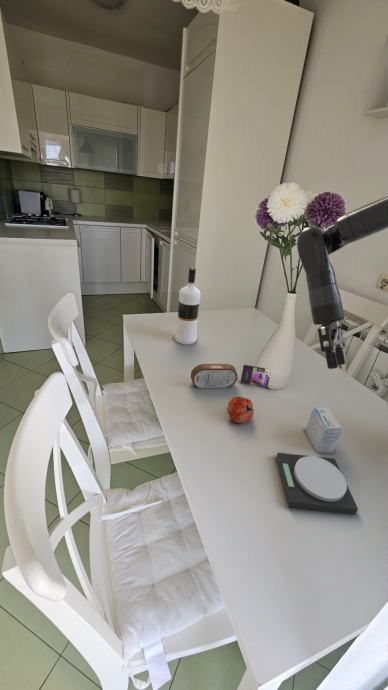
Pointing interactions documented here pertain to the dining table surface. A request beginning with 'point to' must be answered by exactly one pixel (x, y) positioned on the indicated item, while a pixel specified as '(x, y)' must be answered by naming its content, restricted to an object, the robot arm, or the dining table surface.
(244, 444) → the dining table surface
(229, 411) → the pomegranate
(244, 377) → the purple box
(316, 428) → the medicine box
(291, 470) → the kitchen scale
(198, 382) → the tin
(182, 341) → the vodka
